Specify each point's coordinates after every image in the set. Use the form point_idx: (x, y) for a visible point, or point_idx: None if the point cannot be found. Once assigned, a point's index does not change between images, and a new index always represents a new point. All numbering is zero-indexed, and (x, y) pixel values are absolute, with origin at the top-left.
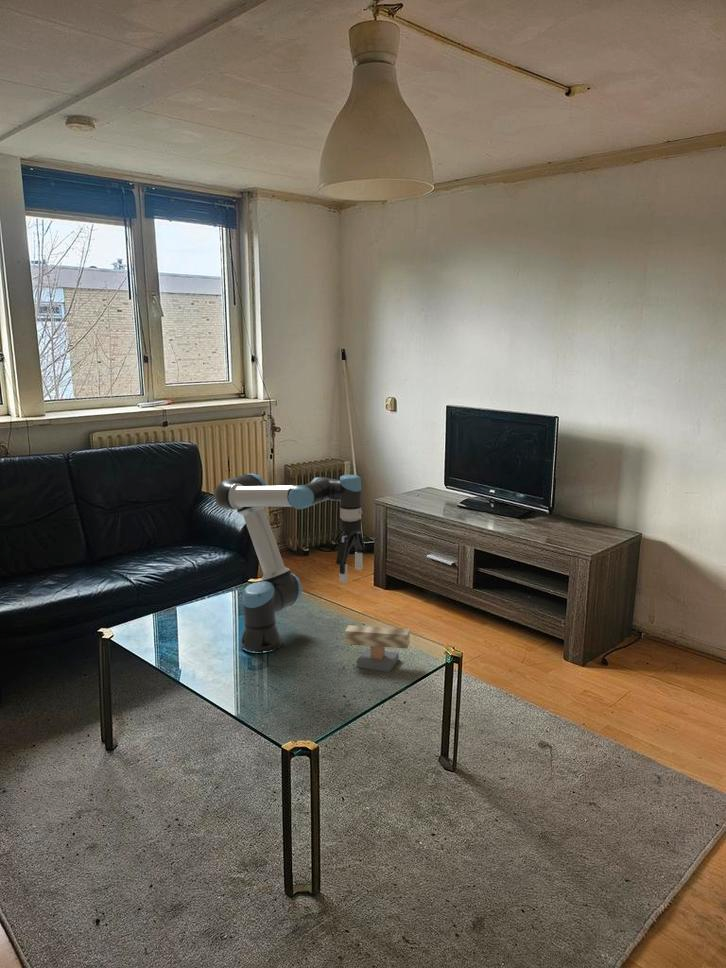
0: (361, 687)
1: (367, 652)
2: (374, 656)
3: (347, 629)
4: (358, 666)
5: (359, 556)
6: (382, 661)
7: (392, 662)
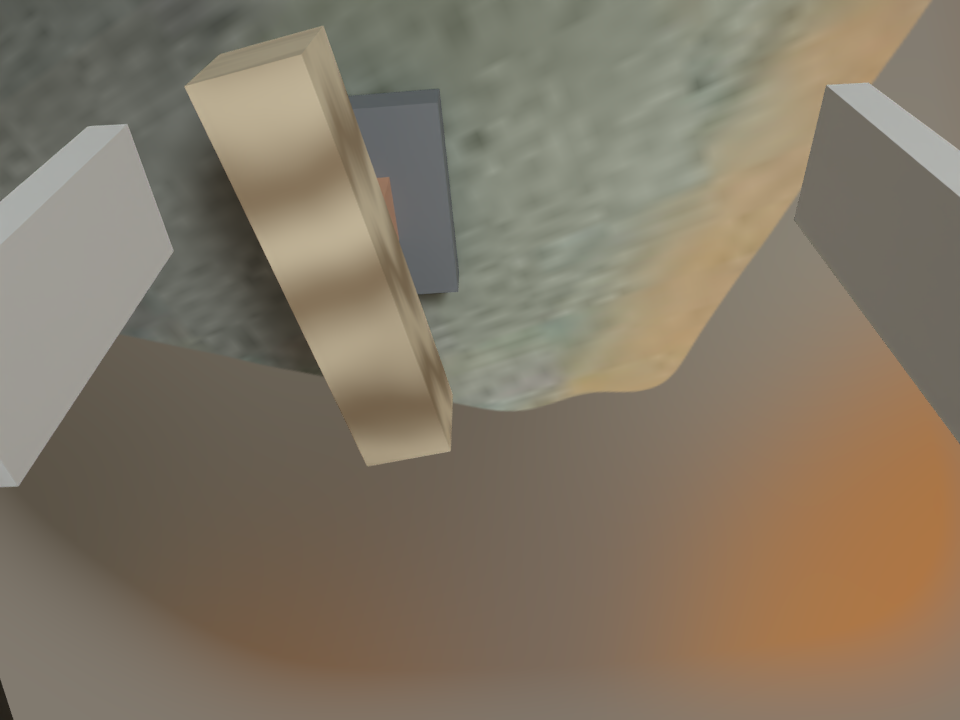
0: None
1: (386, 131)
2: None
3: (222, 93)
4: None
5: (935, 342)
6: None
7: None
